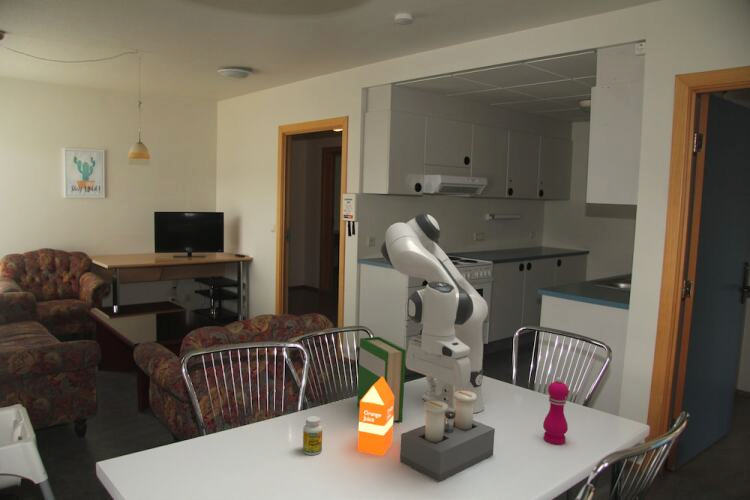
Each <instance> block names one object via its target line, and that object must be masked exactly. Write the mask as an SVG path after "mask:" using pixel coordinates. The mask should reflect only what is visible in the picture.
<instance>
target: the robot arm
mask: <svg viewBox="0 0 750 500" xmlns="http://www.w3.org/2000/svg"><path fill="white" fill-rule="evenodd" d="M384 236H385V237H384V239H385V241H384V242H383V243H382V244H381V247H380V253H381V255H382V257H383V259H384V260H385V262H387V264H389V265H390V266H391V267H393V268H394V269H395V270H396V271H397V272H398V273H400V274H401V275H404V276H408V277H413V278H419V279H424V280H425V281H426V282H427V284H426V286H425V288H423V289H420V290H415V291H413V292H412V293H411V294H410V296H409V297H408V300H407V316H408V317H409V318H410V319H411V320H412V321H413V322H414V323H415V324H419V325H422V330H421V337H417V336H413V337H411V338H410V339H409V340H408V347H407V350H406V358H405V368H406V369H407V370H410V371H413V372H416V373H418V374H421V375H425V377H426V378H425V379H426V383H427V384H428V391H427V392H425V393H423V395H422V397H421V398H422V400H423V401H424V402H426V401H431V400H436V401H442V402H444V403H446V404H447V405H448V410H447V411H451V412H454V413H455V410H456V399H455V398H454V392H456V391H470V392H473V393H475V394H476V395H477V398H476V401H474V406H473V414H476V413H480V412H482V411H483V410H485V406H484V400H483V392H482V384H483V378H484V376H483V375H484V368H483V357H484V355H483V354H484V343H483V341H484V340H483V324H484V321H485V320H486V318H487V316H488V313H489V307H488V303H487V301H486V300H485V298H483V297H482V296H481V294H480V293H479V292H478V291H477V290H476V289H475V288H474V287H473V285H471V284H470V282H469V281H468V280H467V279H466V278H465V277H464V276H463V275H462V274H461V273H460V271H459V270H458V268H457V267H456V266H455V265H454V263H453V261H452V260H451V259H450V258H449V257H448V255H447V254H446V252H444V250H443V249H442V248H441V247H440V246H439V245H438V244H439V243H440V241H439V239H440V237H441V228H440V226H439V223H438V221H437V219H436V218H434V217H433V216H432V215H430V214H429V213H426V212H422V213H418V214H417V215H415V216H414V217H413V218H412V219H410V220H408V221H407V222H396V223H393V224H391V225H390V226H389V227H388V228H387V230H386V232H385V235H384ZM447 411H446V412H447Z"/></svg>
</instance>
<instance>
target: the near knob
mask: <svg viewBox="0 0 750 500" xmlns="http://www.w3.org/2000/svg"><path fill="white" fill-rule="evenodd" d="M423 409H424V410H425V424H424V425H425V440H427V441H429V442H431V443H434V444H437V443H439V442H442V441H443V433H444V418H445V412H446V411H447V410H448V405H447V404H446V403H444V402H442V401H436V400H431V401H424V402H423Z"/></svg>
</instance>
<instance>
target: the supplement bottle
mask: <svg viewBox="0 0 750 500" xmlns="http://www.w3.org/2000/svg"><path fill="white" fill-rule="evenodd" d="M302 430H303V432H302V452H303V453H304V454H305V455H308V456H316V455H318V454H321V452H322V451H323V450H322V449H323V426H322V424H321V418H320V417H319V416H316V415H311V416H307V417H306V418H305V425H304V426H303V429H302Z"/></svg>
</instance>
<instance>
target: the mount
mask: <svg viewBox="0 0 750 500" xmlns="http://www.w3.org/2000/svg"><path fill="white" fill-rule="evenodd" d="M445 418H446V417H445V416H444V433H443V441H442V442H439V443H437V444H434V443H431V442H429V441H427V440H425V424H424V425H421V426H419V427H416V428H413V429H411V430H408V431H405V432H403V433H401V435H400V438H401V439H400V451H399V452H400V454H399V462H400V463H401V464H403V465H405V466H407V467H408V468H411V469H413V470H415V471H417V472H419V473H421V474H423V475H424V476H427V477H428V478H430V479H432V480H434V481H436V482H438V483H440V482H442V481H444V480H446V479H448V478H450V477H453V476H455V475H456V474H459V473H460V472H462V471H465V470H466V469H469V468H471V467H472V466H474V465H476V464H478V463H479V464H480V462H481V463H482V461H485V460H487V459H488V458H490V457H493V456H494V446H495V435H496V434H495V433H496V432H495V431H496V429H495V428H494V427H491V426H489V425H486V424H485V423H481V422H479V421H476V420H474V419H473V421H472V429H470V430H468V431H466V432H465V431H463V430H460V429H458V428H455V427H454V430H453V433H447V432H445ZM454 426H455V418H454Z"/></svg>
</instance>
